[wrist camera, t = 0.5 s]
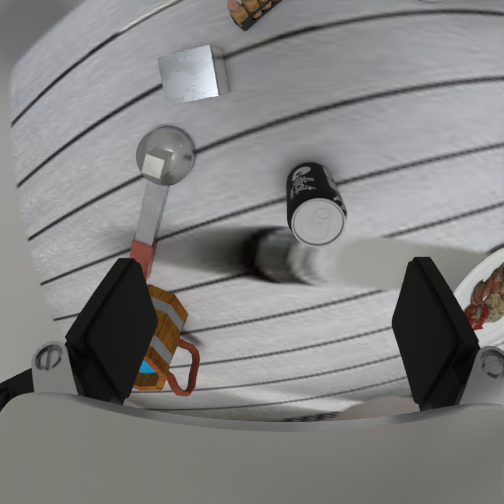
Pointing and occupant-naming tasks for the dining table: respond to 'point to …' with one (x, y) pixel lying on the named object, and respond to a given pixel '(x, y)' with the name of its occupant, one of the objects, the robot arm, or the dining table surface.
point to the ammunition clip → (249, 11)
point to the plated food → (484, 298)
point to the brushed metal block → (193, 74)
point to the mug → (166, 346)
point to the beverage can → (314, 206)
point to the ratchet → (158, 184)
